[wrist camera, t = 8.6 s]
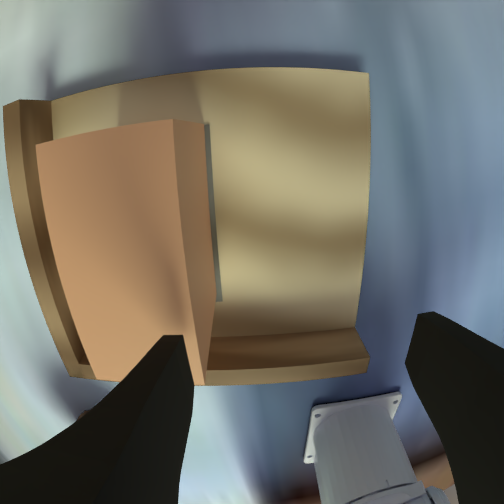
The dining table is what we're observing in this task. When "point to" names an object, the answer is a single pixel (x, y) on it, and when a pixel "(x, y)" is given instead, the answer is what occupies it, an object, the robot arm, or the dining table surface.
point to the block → (132, 240)
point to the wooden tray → (236, 210)
